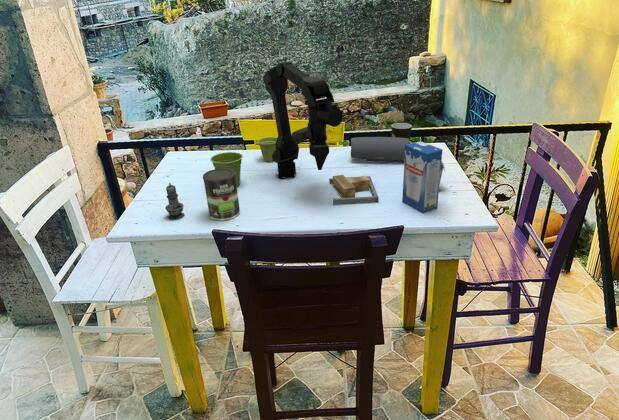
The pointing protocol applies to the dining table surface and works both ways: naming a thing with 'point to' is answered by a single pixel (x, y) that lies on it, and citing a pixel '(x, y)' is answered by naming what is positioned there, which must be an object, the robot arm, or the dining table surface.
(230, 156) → the plant pot
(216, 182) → the coffee can
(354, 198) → the fence pocket
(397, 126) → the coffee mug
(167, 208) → the grey tall tiered piece
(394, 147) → the bluetooth speaker
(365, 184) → the t block
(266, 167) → the dining table surface
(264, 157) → the plant pot
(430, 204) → the milk carton
